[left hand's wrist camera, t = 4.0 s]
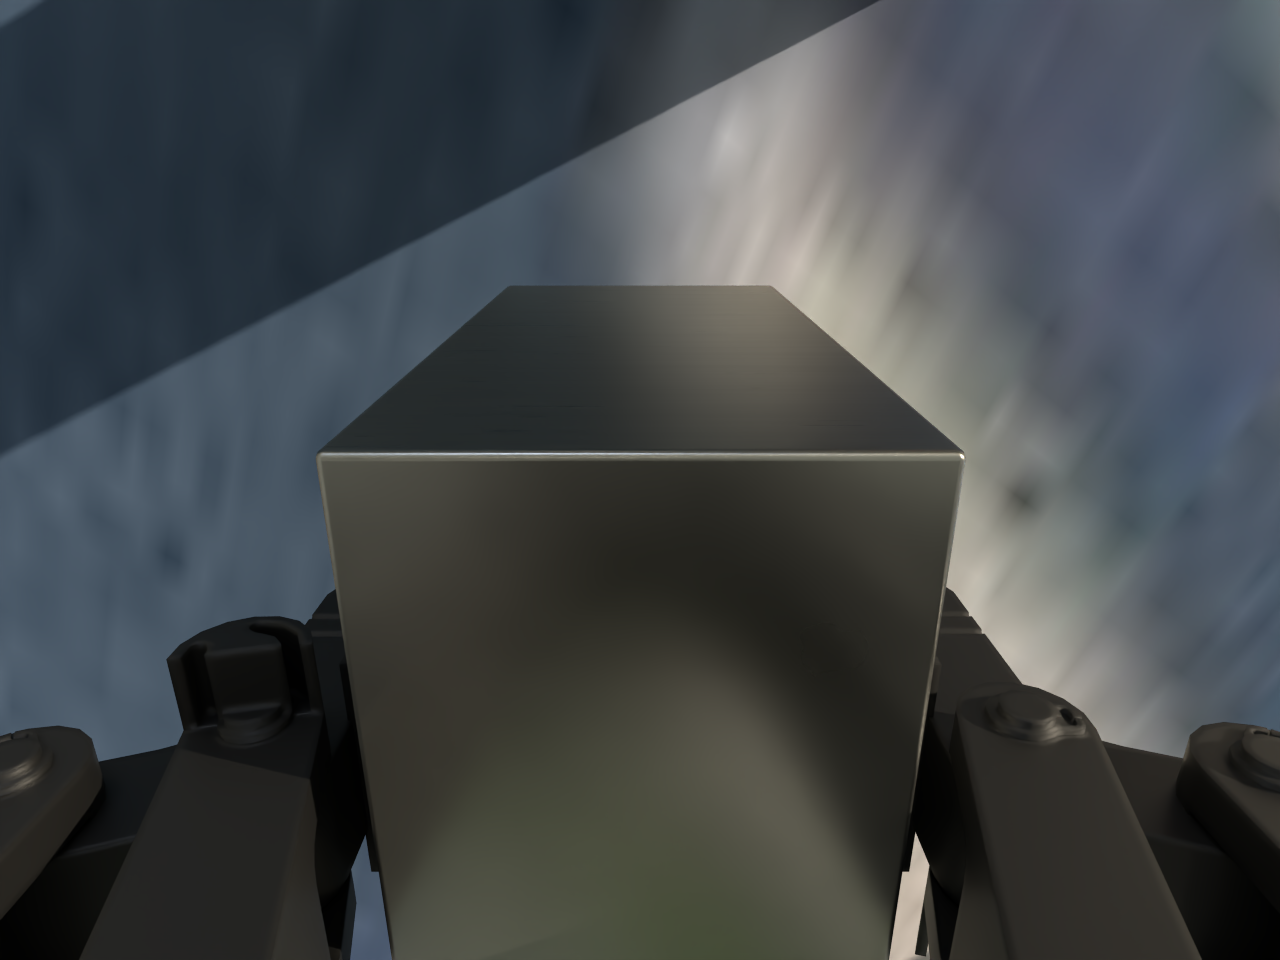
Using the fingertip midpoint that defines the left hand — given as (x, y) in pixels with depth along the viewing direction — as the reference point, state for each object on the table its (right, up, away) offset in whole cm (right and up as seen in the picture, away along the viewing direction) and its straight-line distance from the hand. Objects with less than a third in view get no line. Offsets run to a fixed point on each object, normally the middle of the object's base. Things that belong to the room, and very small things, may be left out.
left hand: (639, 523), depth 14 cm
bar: (0, -7, +4) cm, 8 cm away
